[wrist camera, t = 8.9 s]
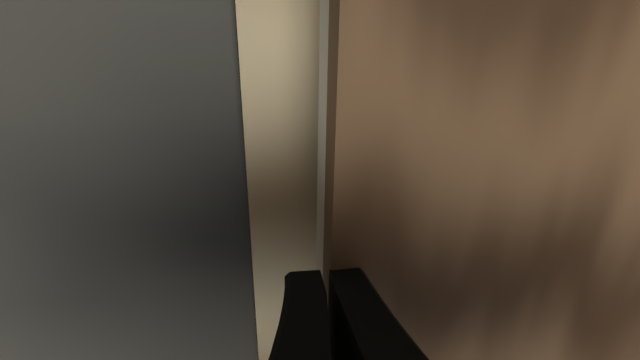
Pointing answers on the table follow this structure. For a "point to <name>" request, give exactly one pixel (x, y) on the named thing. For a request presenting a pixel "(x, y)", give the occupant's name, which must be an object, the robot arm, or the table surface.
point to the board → (279, 145)
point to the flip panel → (486, 171)
